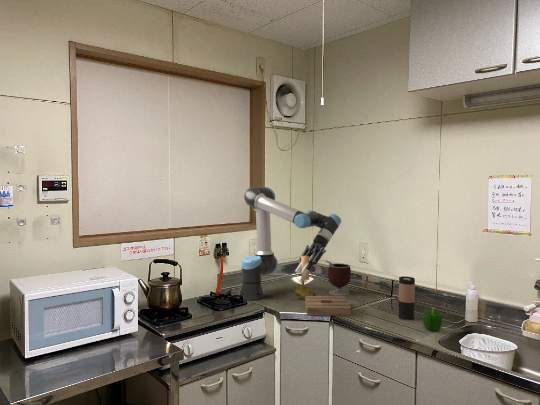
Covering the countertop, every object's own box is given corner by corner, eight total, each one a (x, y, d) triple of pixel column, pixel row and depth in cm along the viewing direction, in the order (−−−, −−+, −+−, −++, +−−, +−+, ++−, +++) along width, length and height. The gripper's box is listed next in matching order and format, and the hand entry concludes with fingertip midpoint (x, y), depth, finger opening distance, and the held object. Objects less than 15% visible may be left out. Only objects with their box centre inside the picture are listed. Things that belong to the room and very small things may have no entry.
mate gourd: (349, 290, 261) (350, 259, 260) (351, 296, 247) (352, 263, 247) (324, 289, 263) (325, 258, 262) (325, 295, 249) (325, 262, 248)
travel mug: (401, 314, 213) (402, 275, 212) (416, 317, 208) (417, 277, 207) (395, 318, 207) (396, 278, 206) (410, 321, 202) (411, 280, 201)
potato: (308, 302, 233) (308, 288, 233) (291, 298, 243) (291, 284, 242) (317, 300, 239) (317, 286, 239) (301, 295, 248) (301, 282, 248)
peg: (301, 278, 221) (301, 255, 221) (309, 278, 221) (308, 255, 220) (301, 280, 217) (301, 257, 217) (309, 280, 217) (309, 257, 216)
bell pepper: (435, 334, 184) (435, 312, 184) (419, 329, 191) (419, 307, 190) (446, 330, 189) (446, 308, 189) (429, 325, 196) (430, 304, 195)
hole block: (305, 302, 233) (305, 295, 233) (344, 303, 232) (344, 296, 232) (307, 315, 211) (307, 307, 211) (350, 315, 210) (351, 307, 210)
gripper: (337, 244, 221) (315, 280, 211) (315, 241, 234) (293, 275, 225) (330, 235, 217) (307, 271, 208) (308, 233, 231) (285, 266, 222)
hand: (299, 273), depth 216 cm, fingers closed on peg, 4 cm apart
